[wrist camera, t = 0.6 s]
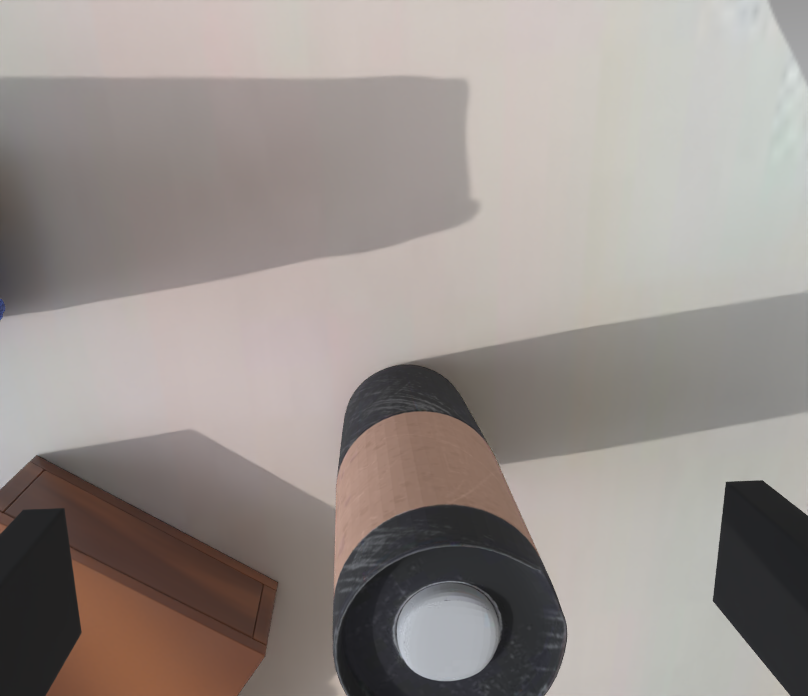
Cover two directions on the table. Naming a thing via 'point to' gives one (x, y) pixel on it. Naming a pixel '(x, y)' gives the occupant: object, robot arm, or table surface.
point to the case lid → (147, 641)
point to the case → (146, 548)
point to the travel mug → (434, 553)
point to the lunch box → (2, 308)
